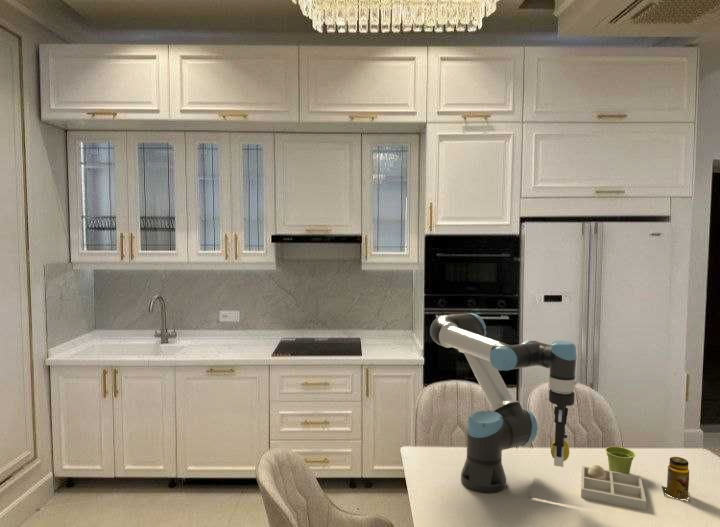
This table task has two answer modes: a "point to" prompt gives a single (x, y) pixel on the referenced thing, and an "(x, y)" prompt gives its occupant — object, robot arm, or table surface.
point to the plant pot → (619, 459)
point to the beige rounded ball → (597, 472)
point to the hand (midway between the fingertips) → (559, 461)
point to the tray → (614, 489)
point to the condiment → (677, 479)
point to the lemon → (566, 450)
